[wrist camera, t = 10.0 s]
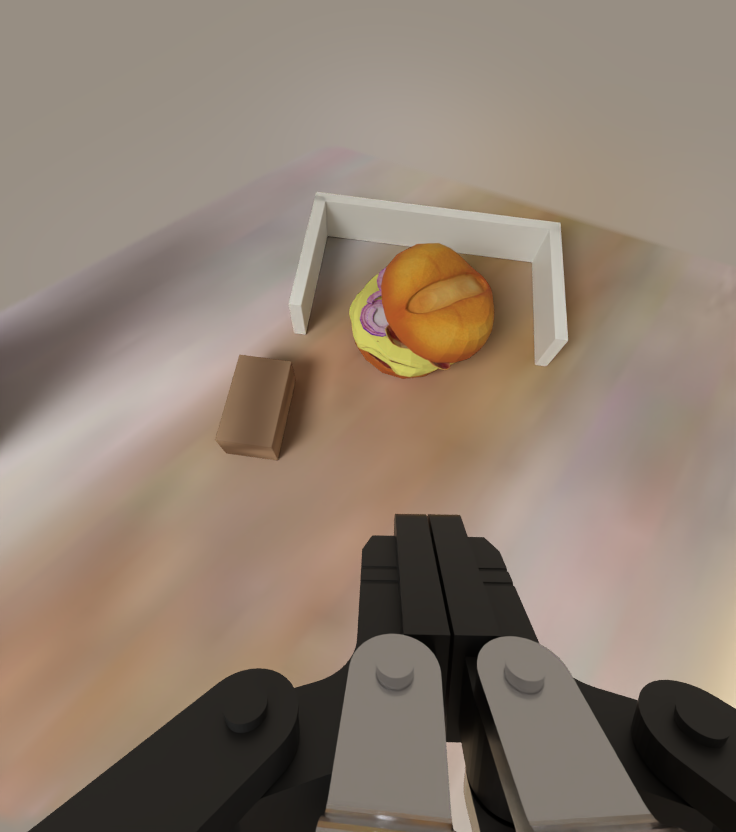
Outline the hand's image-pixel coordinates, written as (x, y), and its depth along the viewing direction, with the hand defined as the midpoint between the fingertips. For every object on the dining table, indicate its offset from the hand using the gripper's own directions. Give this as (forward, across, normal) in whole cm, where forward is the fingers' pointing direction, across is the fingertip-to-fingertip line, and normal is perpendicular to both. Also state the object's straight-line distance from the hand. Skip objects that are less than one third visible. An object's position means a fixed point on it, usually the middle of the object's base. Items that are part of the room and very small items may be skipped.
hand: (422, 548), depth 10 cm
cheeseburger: (+30, -2, -1) cm, 30 cm away
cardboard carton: (+24, +10, +5) cm, 26 cm away
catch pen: (+33, -3, -4) cm, 33 cm away
